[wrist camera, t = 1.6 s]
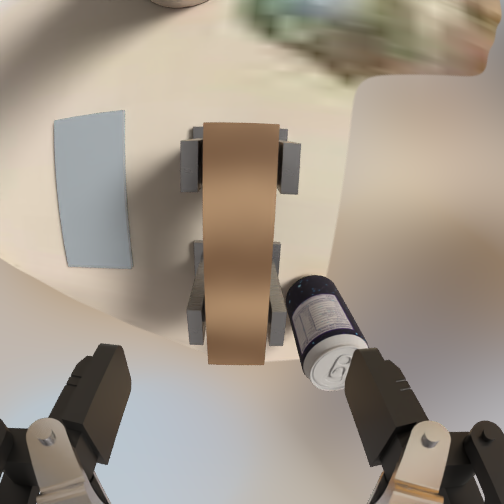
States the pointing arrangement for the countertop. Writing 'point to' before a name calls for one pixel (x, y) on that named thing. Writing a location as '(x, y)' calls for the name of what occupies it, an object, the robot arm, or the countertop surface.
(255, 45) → the countertop surface
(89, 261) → the mat
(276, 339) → the grey bracket
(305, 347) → the beverage can
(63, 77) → the countertop surface
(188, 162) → the grey metal bracket
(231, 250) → the rail
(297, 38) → the countertop surface
